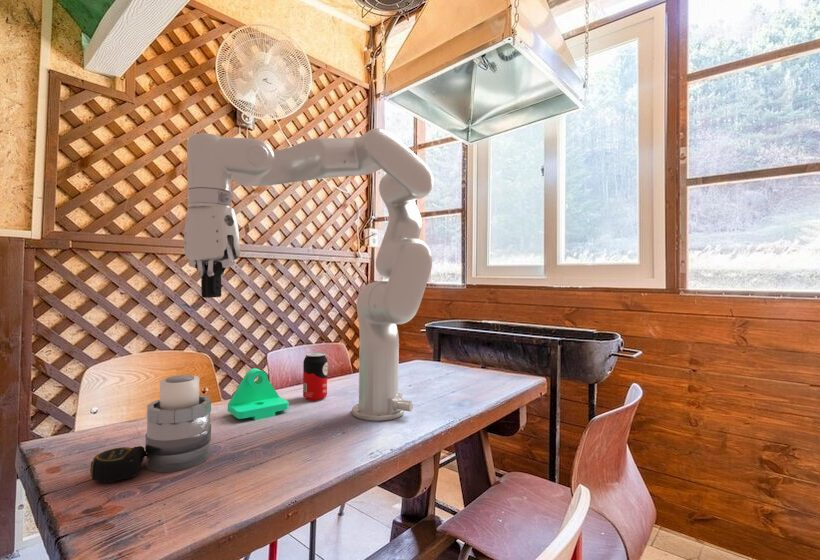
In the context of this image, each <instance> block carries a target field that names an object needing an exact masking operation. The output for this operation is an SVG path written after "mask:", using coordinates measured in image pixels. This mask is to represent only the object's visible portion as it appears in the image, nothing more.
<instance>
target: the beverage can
mask: <svg viewBox="0 0 820 560" xmlns="http://www.w3.org/2000/svg"><path fill="white" fill-rule="evenodd" d="M302 363H303V366H302V367H303V370H302V371H303V372H302V373H303V376H302V377H303V378H302V386H303V388H302V396H303V398H304V399H305V400H306V401H310V402H319V401H323V400H324V399H325V398H326V397H327V396H328V358H327V357H326V353H325V352H317V351H316V352H309V353H306V354H305V357H304V359H303V362H302Z"/></svg>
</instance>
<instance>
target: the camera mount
mask: <svg viewBox="0 0 820 560" xmlns="http://www.w3.org/2000/svg"><path fill="white" fill-rule="evenodd" d="M256 378H257V379H256ZM255 379H256V380H255ZM240 381H241V382H240V383H239V385H238V386H237V388H236V390H235V392H234V393H233V394H232V397H230V400H229V402H228V403H227V412H228V413H229V414H231V415H232V416H234V418H236V419H239V420H242V419H248V418H251V419H253V420H254V421H256V420H257V421H258V420H261V419H262V420H263V419H267V418H271V417H275V416H276V413H277V412H281V411H287V410H289V407H290V406H289V401H288V400H286V399H284V398H283V397H280V396H279V394H278V392H277V391H276V389H275V387H274V386H273V384H272V383H271V381H270V380H269V377H268V374H267V373H266V372H265V371H263V370H261V369H259V368H251V369H249V370H247V371H246V374H245V375H244V377H243V378H242V380H240Z"/></svg>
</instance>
